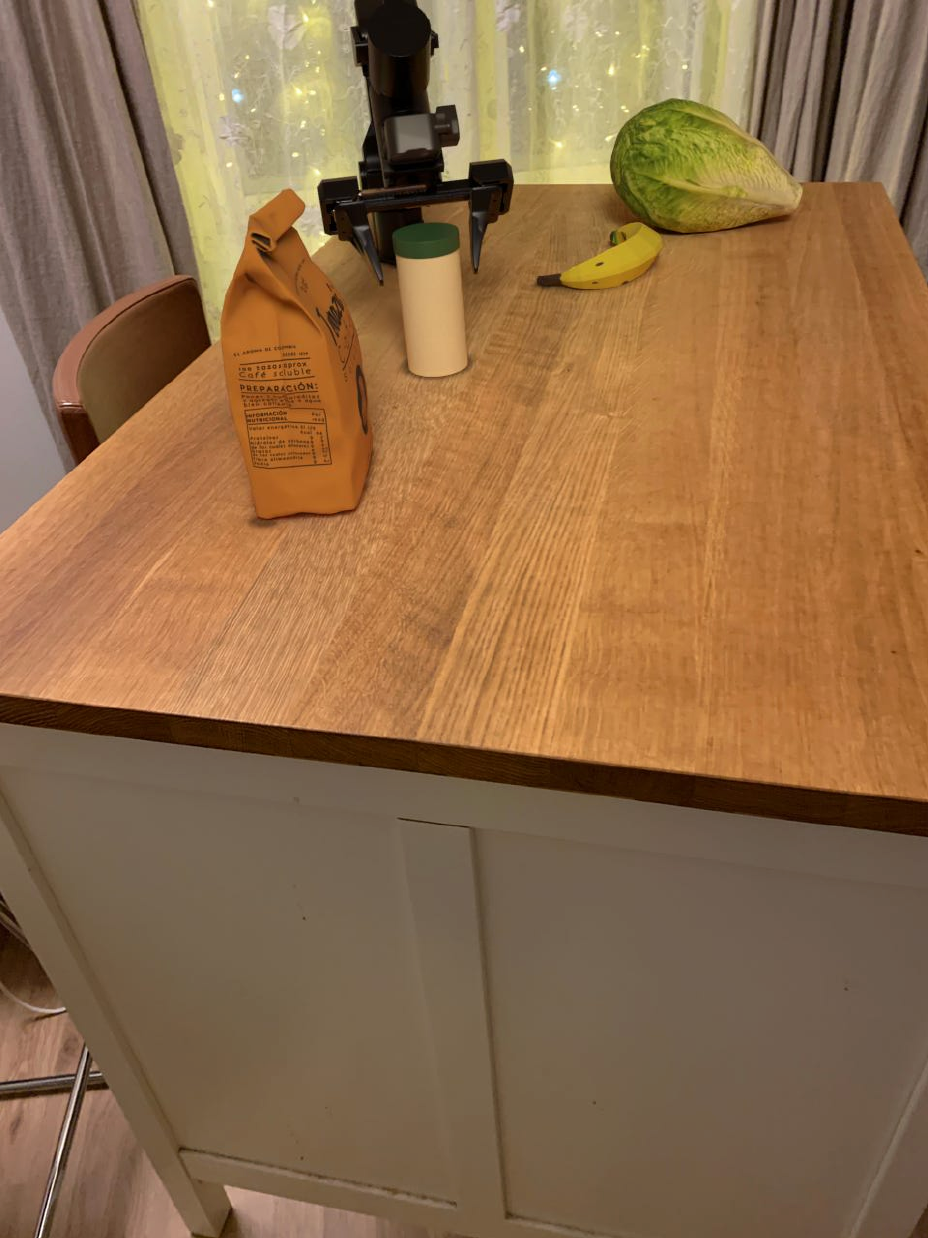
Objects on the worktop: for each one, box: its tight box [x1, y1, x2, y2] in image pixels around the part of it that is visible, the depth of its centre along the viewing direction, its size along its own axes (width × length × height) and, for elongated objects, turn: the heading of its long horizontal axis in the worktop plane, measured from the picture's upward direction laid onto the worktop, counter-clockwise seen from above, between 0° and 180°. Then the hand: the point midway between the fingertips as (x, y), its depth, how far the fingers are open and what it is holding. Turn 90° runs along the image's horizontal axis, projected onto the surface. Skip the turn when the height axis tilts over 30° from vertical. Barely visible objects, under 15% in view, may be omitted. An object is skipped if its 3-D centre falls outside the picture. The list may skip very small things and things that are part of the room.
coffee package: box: [219, 188, 374, 520], centre depth 74 cm, size 10×12×22 cm
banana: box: [535, 221, 664, 290], centre depth 117 cm, size 5×17×15 cm
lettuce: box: [609, 97, 804, 234], centre depth 124 cm, size 15×25×16 cm
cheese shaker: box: [392, 221, 469, 378], centre depth 94 cm, size 6×6×13 cm
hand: (429, 278), depth 94 cm, fingers open, 9 cm apart
